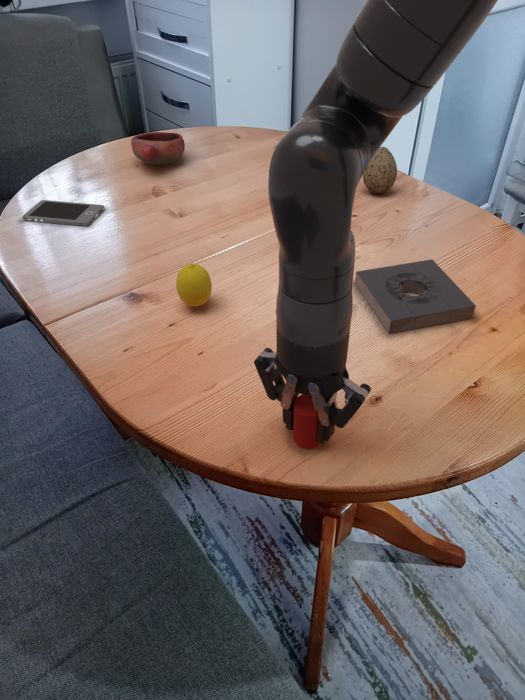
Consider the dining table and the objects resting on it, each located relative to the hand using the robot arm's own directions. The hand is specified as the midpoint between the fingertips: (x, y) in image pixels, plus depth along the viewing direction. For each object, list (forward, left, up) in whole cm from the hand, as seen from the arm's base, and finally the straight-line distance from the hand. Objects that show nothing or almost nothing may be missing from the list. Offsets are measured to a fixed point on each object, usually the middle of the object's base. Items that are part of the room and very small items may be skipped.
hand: (307, 431), depth 66 cm
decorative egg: (-36, -62, -1) cm, 72 cm away
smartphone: (+31, -71, -1) cm, 77 cm away
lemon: (+9, -31, -1) cm, 32 cm away
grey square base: (-25, -23, -1) cm, 34 cm away
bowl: (+8, -91, -1) cm, 91 cm away
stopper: (0, 0, -1) cm, 1 cm away
